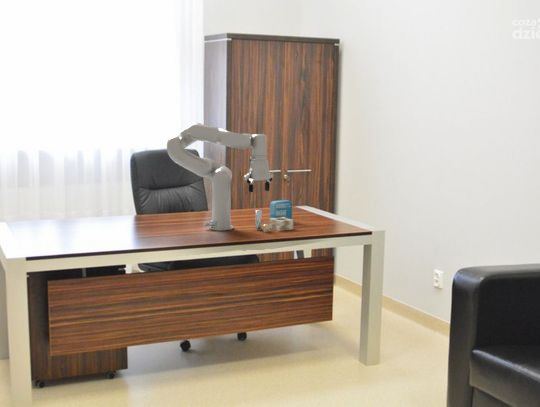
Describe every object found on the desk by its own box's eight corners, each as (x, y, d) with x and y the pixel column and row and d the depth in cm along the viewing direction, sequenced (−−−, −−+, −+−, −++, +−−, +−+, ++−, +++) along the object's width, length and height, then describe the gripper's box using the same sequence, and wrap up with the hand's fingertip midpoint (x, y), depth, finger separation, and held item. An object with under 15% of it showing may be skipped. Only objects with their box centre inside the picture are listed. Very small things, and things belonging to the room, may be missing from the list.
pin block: (278, 230, 372) (278, 221, 372) (269, 228, 380) (269, 218, 379) (293, 229, 377) (293, 219, 376) (283, 226, 385) (283, 217, 384)
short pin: (265, 232, 367) (265, 225, 366) (262, 231, 370) (262, 224, 369) (270, 232, 369) (270, 224, 368) (267, 231, 371) (267, 223, 371)
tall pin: (257, 230, 374) (257, 211, 372) (254, 229, 376) (254, 210, 375) (262, 229, 375) (262, 210, 374) (259, 228, 378) (259, 209, 377)
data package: (274, 224, 391) (274, 202, 389) (269, 223, 394) (270, 201, 393) (292, 222, 398) (292, 200, 396) (287, 220, 401) (287, 199, 400)
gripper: (248, 159, 362) (248, 193, 365) (277, 158, 372) (277, 191, 374) (241, 158, 369) (240, 191, 371) (269, 157, 378) (269, 189, 381)
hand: (259, 191), depth 373 cm, fingers open, 9 cm apart
